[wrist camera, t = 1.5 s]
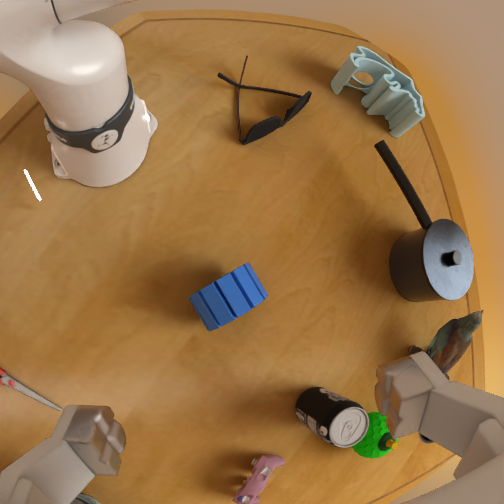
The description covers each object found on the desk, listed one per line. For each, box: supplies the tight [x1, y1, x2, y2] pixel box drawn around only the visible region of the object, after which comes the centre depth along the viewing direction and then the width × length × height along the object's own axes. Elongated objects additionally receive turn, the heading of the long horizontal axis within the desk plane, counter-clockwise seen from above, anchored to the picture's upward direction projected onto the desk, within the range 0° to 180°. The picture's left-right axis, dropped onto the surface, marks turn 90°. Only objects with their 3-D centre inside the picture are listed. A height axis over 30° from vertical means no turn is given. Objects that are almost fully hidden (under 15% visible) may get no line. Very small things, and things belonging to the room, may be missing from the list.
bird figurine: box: [409, 310, 483, 380], centre depth 46 cm, size 13×10×20 cm
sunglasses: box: [218, 56, 312, 145], centre depth 51 cm, size 17×14×5 cm
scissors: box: [0, 368, 64, 411], centre depth 35 cm, size 8×21×2 cm, turn 85°
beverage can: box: [296, 387, 369, 448], centre depth 40 cm, size 7×7×12 cm
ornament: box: [352, 412, 399, 458], centre depth 42 cm, size 8×8×10 cm
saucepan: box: [374, 140, 474, 302], centre depth 50 cm, size 29×14×11 cm, turn 31°
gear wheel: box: [189, 263, 268, 331], centre depth 42 cm, size 5×9×9 cm, turn 122°
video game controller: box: [232, 455, 286, 504], centre depth 39 cm, size 10×5×7 cm, turn 151°
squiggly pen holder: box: [331, 46, 425, 138], centre depth 55 cm, size 18×10×9 cm, turn 65°
